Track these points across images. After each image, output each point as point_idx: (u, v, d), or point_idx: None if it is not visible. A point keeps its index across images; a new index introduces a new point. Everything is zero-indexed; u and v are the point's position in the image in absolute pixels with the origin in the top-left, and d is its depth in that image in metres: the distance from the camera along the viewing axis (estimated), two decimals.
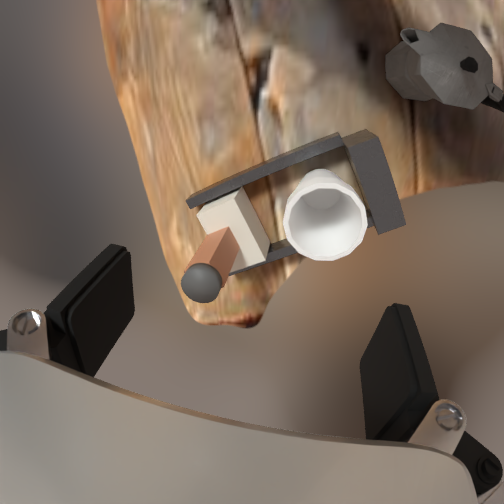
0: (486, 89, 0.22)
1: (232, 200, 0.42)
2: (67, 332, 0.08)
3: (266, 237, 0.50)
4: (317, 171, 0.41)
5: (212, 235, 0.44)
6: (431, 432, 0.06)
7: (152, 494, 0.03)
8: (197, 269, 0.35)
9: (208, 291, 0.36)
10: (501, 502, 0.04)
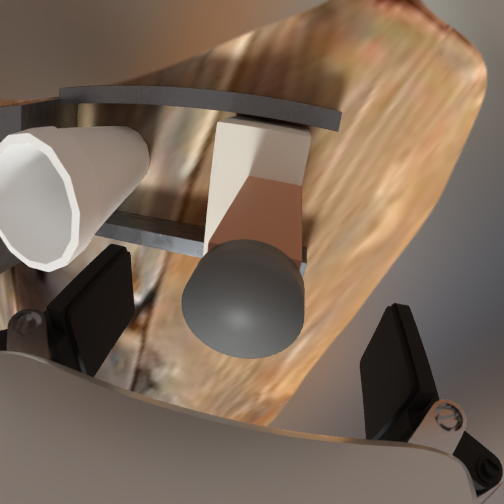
0: None
1: None
2: (67, 332, 0.08)
3: None
4: None
5: None
6: (431, 432, 0.06)
7: (152, 494, 0.03)
8: None
9: (225, 292, 0.11)
10: (501, 502, 0.04)
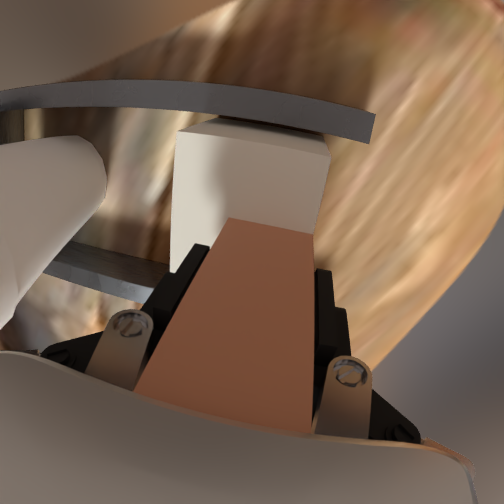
0: None
1: None
2: None
3: None
4: None
5: None
6: (339, 394, 0.07)
7: (152, 494, 0.03)
8: None
9: None
10: None
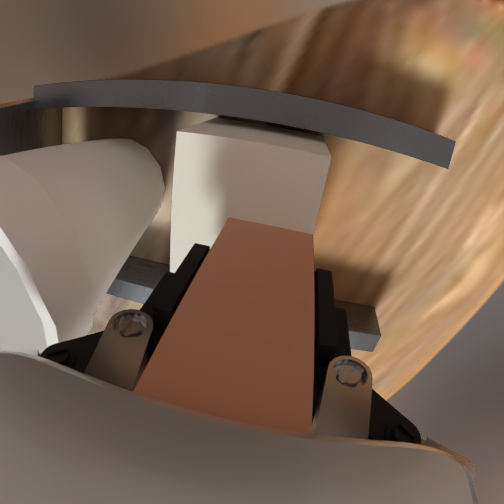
0: None
1: None
2: None
3: None
4: None
5: None
6: (338, 394, 0.07)
7: (152, 494, 0.03)
8: None
9: None
10: None
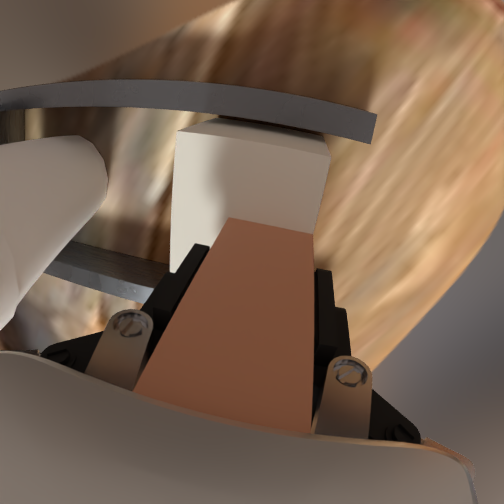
0: None
1: None
2: None
3: None
4: None
5: None
6: (338, 394, 0.07)
7: (152, 494, 0.03)
8: None
9: None
10: None
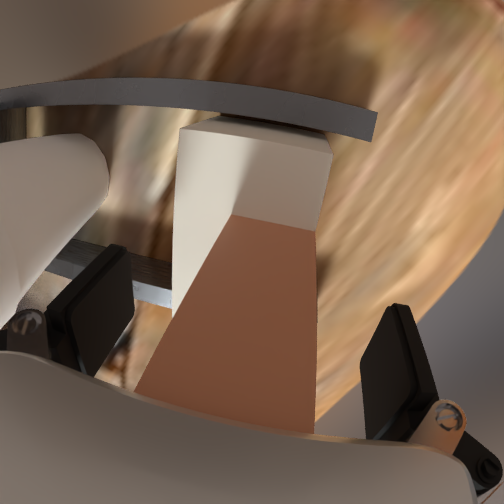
0: None
1: None
2: (67, 332, 0.08)
3: None
4: None
5: None
6: (431, 432, 0.06)
7: (152, 494, 0.03)
8: None
9: None
10: (501, 502, 0.04)
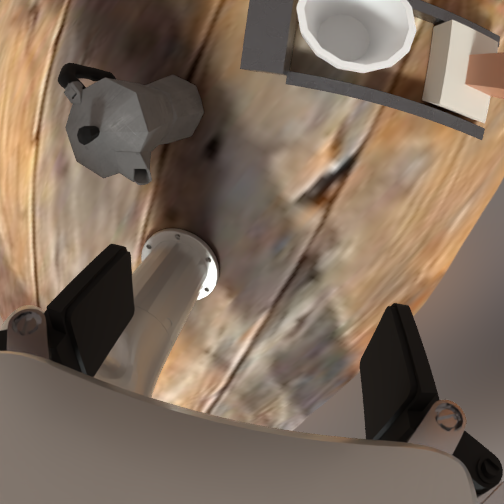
0: (81, 97, 0.23)
1: (442, 103, 0.26)
2: (67, 332, 0.08)
3: (434, 34, 0.26)
4: None
5: (487, 92, 0.23)
6: (431, 432, 0.06)
7: (152, 494, 0.03)
8: None
9: None
10: (501, 502, 0.04)
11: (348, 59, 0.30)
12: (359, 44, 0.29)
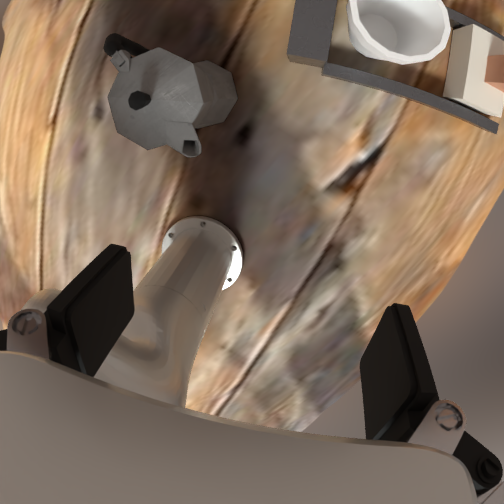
0: (130, 65, 0.23)
1: (464, 98, 0.27)
2: (67, 332, 0.08)
3: (454, 37, 0.27)
4: (368, 56, 0.29)
5: (503, 89, 0.24)
6: (431, 432, 0.06)
7: (152, 494, 0.03)
8: None
9: None
10: (501, 502, 0.04)
11: None
12: (388, 42, 0.30)
